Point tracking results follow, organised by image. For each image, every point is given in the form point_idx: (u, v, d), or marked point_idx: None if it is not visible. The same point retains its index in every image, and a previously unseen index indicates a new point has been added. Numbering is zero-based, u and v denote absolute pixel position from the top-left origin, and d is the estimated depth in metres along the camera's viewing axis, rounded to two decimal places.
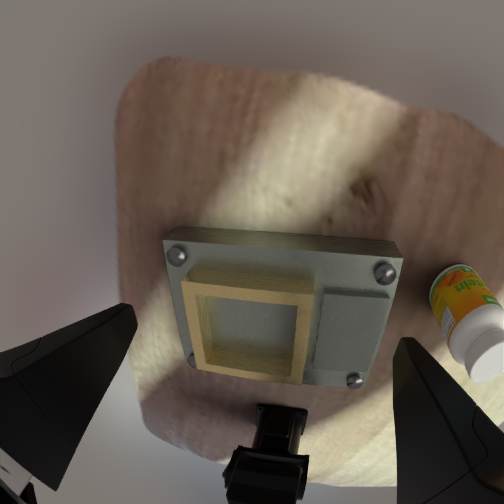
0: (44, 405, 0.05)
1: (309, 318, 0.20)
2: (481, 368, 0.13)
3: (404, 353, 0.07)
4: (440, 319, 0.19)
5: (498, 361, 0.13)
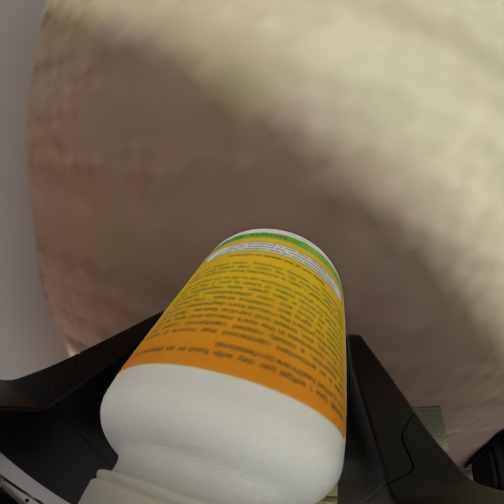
0: (87, 431, 0.05)
1: None
2: None
3: (347, 351, 0.07)
4: None
5: None
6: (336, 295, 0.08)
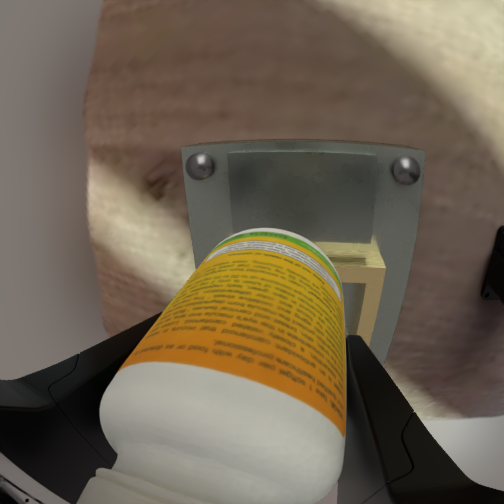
0: (87, 431, 0.05)
1: None
2: None
3: (347, 351, 0.07)
4: None
5: None
6: (336, 294, 0.08)
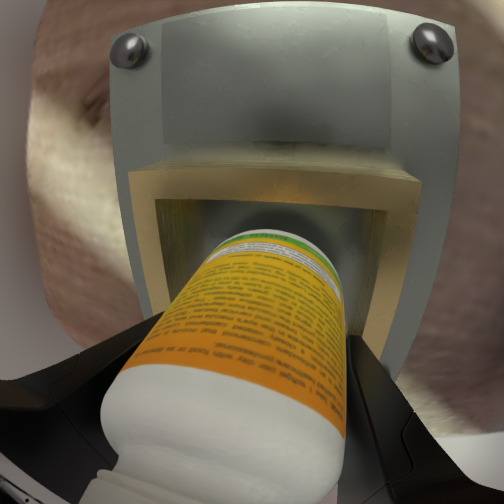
0: (87, 431, 0.05)
1: (177, 172, 0.09)
2: None
3: (347, 351, 0.07)
4: None
5: None
6: (336, 295, 0.08)
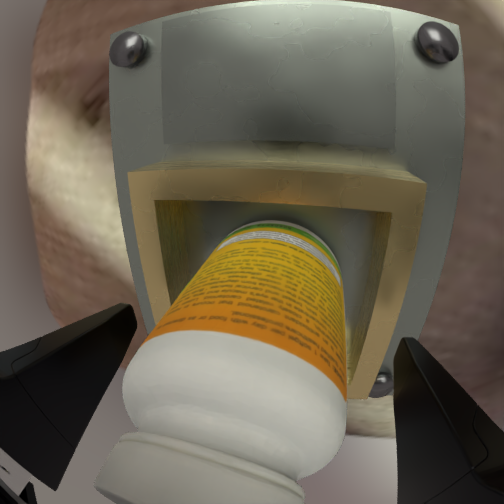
0: (44, 405, 0.05)
1: (177, 172, 0.09)
2: None
3: (405, 353, 0.07)
4: None
5: None
6: (336, 279, 0.09)
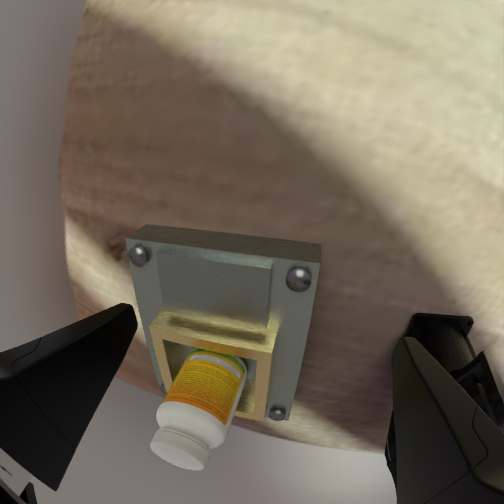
0: (44, 405, 0.05)
1: (171, 333, 0.20)
2: (183, 464, 0.16)
3: (404, 353, 0.07)
4: None
5: (172, 455, 0.15)
6: (236, 377, 0.21)
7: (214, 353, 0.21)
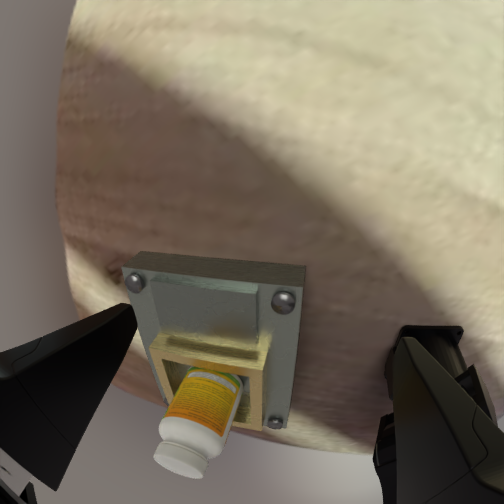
0: (44, 405, 0.05)
1: (169, 353, 0.22)
2: (184, 473, 0.17)
3: (405, 353, 0.07)
4: None
5: (174, 465, 0.16)
6: (232, 391, 0.22)
7: (210, 370, 0.22)
